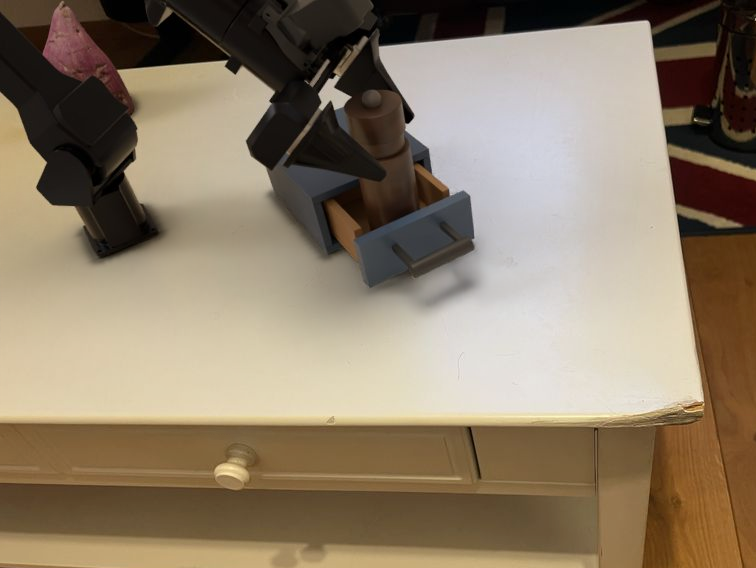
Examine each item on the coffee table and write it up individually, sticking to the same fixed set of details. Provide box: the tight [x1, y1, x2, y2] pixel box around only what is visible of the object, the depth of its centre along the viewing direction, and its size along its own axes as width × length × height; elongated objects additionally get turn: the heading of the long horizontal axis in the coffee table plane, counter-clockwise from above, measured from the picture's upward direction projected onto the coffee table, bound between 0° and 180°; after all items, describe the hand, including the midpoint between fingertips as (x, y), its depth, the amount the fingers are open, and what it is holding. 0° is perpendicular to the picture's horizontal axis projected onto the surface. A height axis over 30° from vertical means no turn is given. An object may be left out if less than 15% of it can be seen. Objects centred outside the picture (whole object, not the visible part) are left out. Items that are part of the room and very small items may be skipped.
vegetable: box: [41, 0, 135, 116], centre depth 93 cm, size 10×10×15 cm
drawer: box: [321, 162, 475, 289], centre depth 68 cm, size 17×11×5 cm
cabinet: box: [265, 106, 434, 255], centre depth 75 cm, size 14×13×7 cm
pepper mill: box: [343, 90, 420, 231], centre depth 64 cm, size 5×5×14 cm
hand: (398, 147), depth 62 cm, fingers open, 9 cm apart
